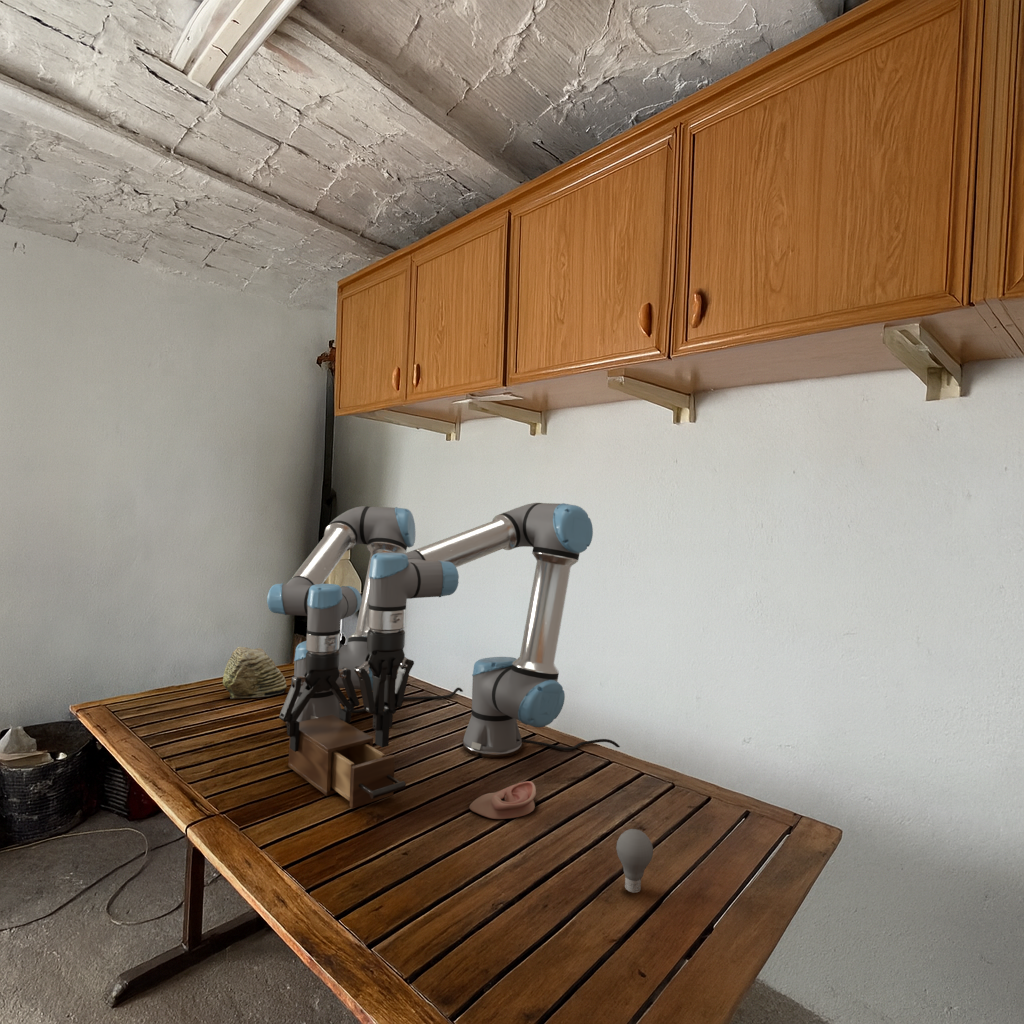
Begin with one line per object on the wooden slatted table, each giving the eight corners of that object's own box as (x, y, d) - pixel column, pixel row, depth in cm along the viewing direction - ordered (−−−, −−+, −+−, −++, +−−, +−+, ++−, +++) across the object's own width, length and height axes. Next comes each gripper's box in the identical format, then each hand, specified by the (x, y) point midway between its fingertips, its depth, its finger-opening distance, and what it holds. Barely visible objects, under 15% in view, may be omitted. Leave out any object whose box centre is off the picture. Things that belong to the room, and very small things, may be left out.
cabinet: (371, 782, 142) (373, 737, 141) (326, 796, 134) (328, 749, 134) (331, 755, 155) (332, 714, 155) (288, 766, 148) (289, 723, 148)
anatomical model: (465, 795, 128) (479, 772, 140) (464, 815, 128) (479, 790, 140) (530, 804, 126) (539, 780, 137) (529, 824, 126) (538, 798, 137)
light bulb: (610, 879, 108) (613, 822, 108) (644, 879, 109) (647, 822, 109) (619, 902, 102) (622, 840, 102) (655, 901, 103) (658, 840, 103)
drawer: (409, 805, 130) (410, 765, 130) (367, 820, 123) (369, 778, 123) (351, 766, 147) (352, 731, 147) (312, 778, 140) (313, 741, 140)
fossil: (218, 695, 195) (220, 647, 195) (278, 685, 208) (279, 640, 207) (228, 703, 189) (230, 653, 188) (289, 692, 201) (290, 645, 201)
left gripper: (279, 661, 137) (275, 761, 137) (376, 647, 153) (372, 736, 154) (265, 654, 142) (262, 750, 143) (360, 641, 159) (356, 727, 159)
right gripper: (367, 636, 121) (362, 758, 122) (423, 629, 130) (418, 742, 131) (348, 629, 127) (343, 746, 127) (403, 622, 136) (398, 732, 136)
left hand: (319, 743), depth 148 cm, fingers open, 12 cm apart
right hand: (381, 744), depth 129 cm, fingers closed
